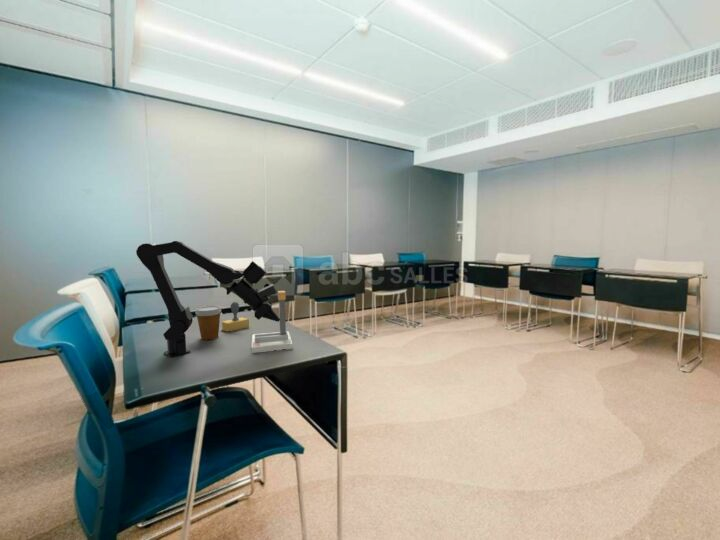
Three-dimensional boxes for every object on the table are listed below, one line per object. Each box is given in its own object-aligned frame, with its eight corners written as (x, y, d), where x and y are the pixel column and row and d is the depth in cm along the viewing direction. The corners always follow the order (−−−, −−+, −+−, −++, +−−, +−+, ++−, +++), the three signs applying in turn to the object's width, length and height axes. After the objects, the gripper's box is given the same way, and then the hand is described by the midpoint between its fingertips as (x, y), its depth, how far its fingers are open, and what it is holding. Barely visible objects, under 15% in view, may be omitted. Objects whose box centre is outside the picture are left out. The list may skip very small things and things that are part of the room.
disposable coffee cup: (222, 339, 131) (221, 309, 130) (195, 342, 128) (193, 311, 126) (222, 333, 140) (221, 305, 139) (197, 335, 136) (196, 306, 135)
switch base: (251, 352, 116) (251, 342, 115) (252, 339, 131) (252, 330, 131) (292, 348, 120) (292, 339, 120) (288, 336, 135) (288, 327, 135)
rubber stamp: (228, 332, 141) (227, 304, 140) (221, 329, 145) (220, 302, 144) (249, 327, 149) (248, 300, 148) (242, 324, 153) (241, 299, 151)
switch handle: (279, 338, 125) (278, 292, 123) (279, 336, 128) (277, 291, 126) (286, 338, 125) (285, 292, 124) (286, 335, 128) (284, 290, 127)
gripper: (263, 280, 113) (296, 310, 118) (262, 274, 131) (291, 300, 135) (239, 304, 112) (274, 333, 116) (242, 295, 130) (272, 320, 134)
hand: (279, 320), depth 126 cm, fingers closed, pressing on switch handle
